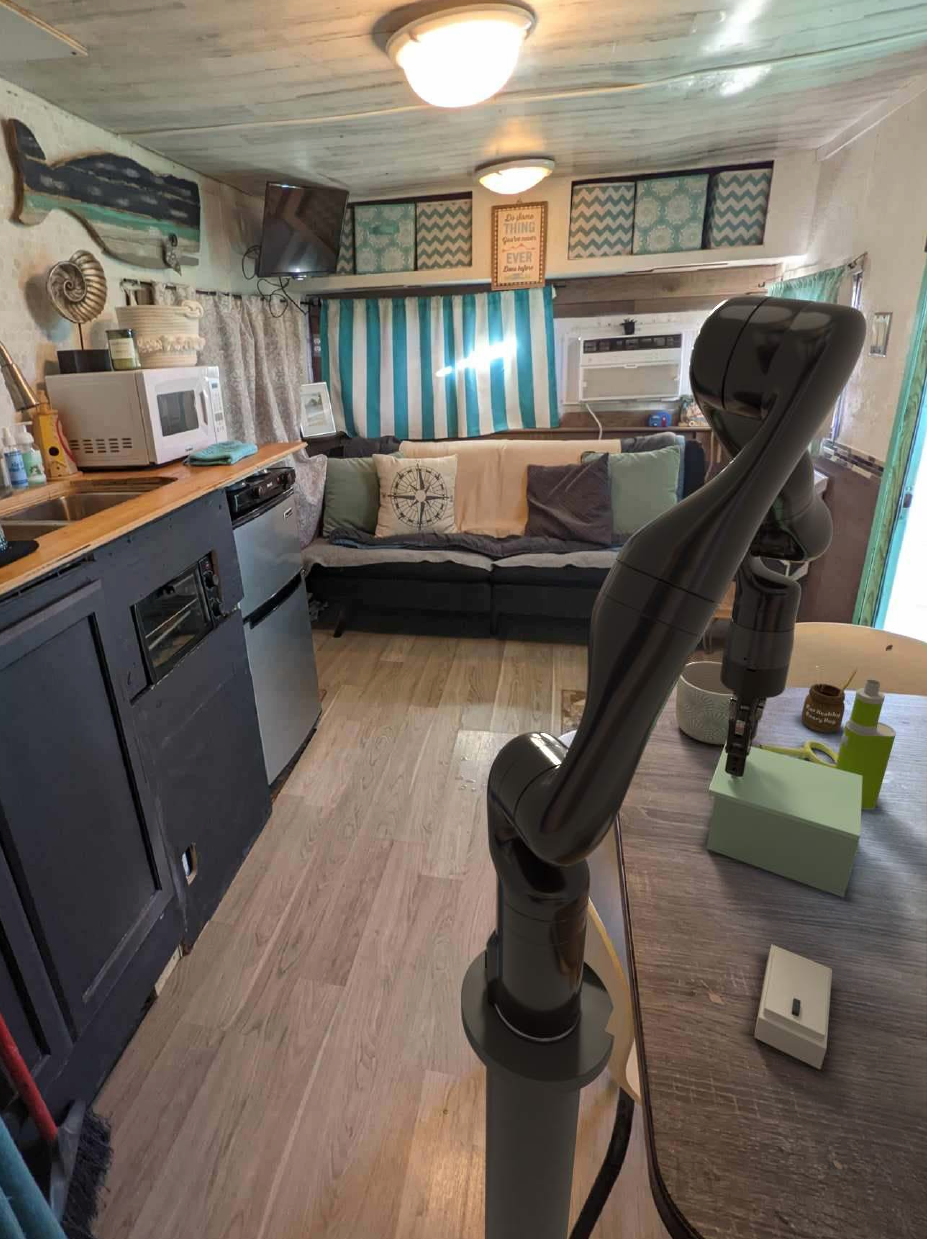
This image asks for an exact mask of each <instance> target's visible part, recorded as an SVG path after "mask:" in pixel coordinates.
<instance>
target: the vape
mask: <svg viewBox="0 0 927 1239" xmlns="http://www.w3.org/2000/svg"><path fill="white" fill-rule="evenodd" d="M880 688H881V682H880V681H879V680H875V679H867V680H866V681H865V684H864V687H859V688H857V689H856V690H855V691H856V692H855V697H854V701H853V706H852V709H851V713H850V716H849V719H848V720H847V721H845V725H844V730H843V732H842V736H841V742H840V746H839V749H838V753H837V754H838V758H837V762H836V763H835V764H836V766H835V769H839V770H843V771H846V772H850V773H854V774H858V775H862V776H863V777H862V805H861V810H874V809H876V807H877V803H878V799H879V796H880V792H881V789H882V786H883V781H884V779H885V774H886V772H887V768H888V764H889V760H890V756H891V753H892V748H893V746H894V743H895V739H896V735H897V732H896V731H895V729H894V728H893V727H892V726H890V725H889V724H887V723H884V722H880V721H879V720H880V716H881V712H882V708H883V705H884V702H885V698H886V695H885V694H884V693H883V692H882V691H880Z"/></svg>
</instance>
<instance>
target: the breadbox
mask: <svg viewBox="0 0 927 1239" xmlns="http://www.w3.org/2000/svg"><path fill="white" fill-rule="evenodd" d="M859 843H860V840H859V841H857V840H854V839H850V838H847V837H844V836H841V835H838V834H834V833H831V832H828V831H825V830H821V829H818V828H815V827H812V826H809V825H805V824H802V823H799V822H796V821H793V820H789V819H786V818H783V817H780V816H776V815H773V814H770V813H767V812H764V811H760V810H757V809H754V808H751V807H747V806H744V805H741V804H738V803H735V802H731V801H728V800H725V799H722V798H719V797H715V796H714V802H713V808H712V814H711V820H710V827H709V833H708V839H707V845H706V850H709V851H711V852H714V853H717V854H719V855H723V856H726V857H729V858H730V859H735V860H737V861H740V862H742V863H745V864H747V865H751V866H754V867H756V868H758V869H759V868H760V869H763V870H765V871H768V872H771V873H773V874H777V875H779V876H781V877H785V878H788V879H790V880H792V881H796V882H799V883H801V884H804V885H807V886H810V887H813V888H816V889H818V890H822V891H823V892H827V893H829V894H833V895H835V896H838V897H841V898H844V897H845V894H846V891H847V887H848V883H849V881H850V880H849V879H850V876H851V872H852V869H853V866H854V862H855V858H856V854H857V850H858V847H859Z"/></svg>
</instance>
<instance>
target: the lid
mask: <svg viewBox="0 0 927 1239" xmlns="http://www.w3.org/2000/svg"><path fill="white" fill-rule="evenodd" d="M726 743H727V741H726ZM726 743H725V744H724V747H723V749H722V752H721V755H720V757H719V760H718V762H717V765H716V768H715V771H714V773H713V777H712V779H711V783H710V784H709V787H708V791H707V795H709V796H711V797H712V796H713V797H714V798H715V797H719V798H722V799H725V800H728V801H731V802H735V803H738V804H741V805H744V806H747V807H751V808H754V809H757V810H760V811H764V812H767V813H770V814H773V815H776V816H780V817H783V818H786V819H789V820H793V821H796V822H799V823H802V824H805V825H809V826H812V827H815V828H818V829H821V830H825V831H828V832H831V833H834V834H838V835H841V836H844V837H847V838H850V839H854V840H857V841H859V842H860V839H861V832H862V809H861V805H862V777H863V776H862V775H858V774H854V773H850V772H846V771H843V770H839V769H835V768H831V767H827V766H824V765H820V764H816V763H812V762H811V761H810V760H805V759H800V758H797V757H794V756H790V755H783V754H778V753H774V752H771V751H767V750H763V749H759V747H755V746H752V745H751V750H750V754H749V755H748V756H747V758H746V764H745V769H744V774H743V776H742V777H738V776H734V775H731V774H728V773H726V772H725V766H726V760H727V755H728V753H725V751H726V750H725V746H726Z"/></svg>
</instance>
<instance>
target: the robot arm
mask: <svg viewBox="0 0 927 1239" xmlns="http://www.w3.org/2000/svg"><path fill="white" fill-rule="evenodd" d="M866 335H867V319H866V318H865V315H864V314H863V312H862V311H861V310H860V309H858V308H856V307H853V306H850V305H847V304H846V305H845V304H840V303H835V302H827V301H815V300H808V299H798V298H789V297H780V296H773V295H760V294H740V295H735V296H731V297H728V298H727V299H724V300H723V301H722V302H720V303H718V305H717V306H715V307H714V309H712V311H711V312H710V313H709V315H708V316H707V317H706V319H705V320H704V322H703V323H702V325H701V327H700V329H699V331H698V333H697V335H696V338H695V340H694V343H693V346H692V349H691V351H690V352H691V353H690V357H689V363H688V380H689V386H690V390H691V394H692V397H693V399H694V401H695V403H696V405H697V407H698V409H699V411H700V412H701V414H702V416H703V418H704V419H705V421H706V423H707V424H708V427H709V428H710V430H711V432H712V434H713V435H714V437H715V439H716V440H717V443H718V444H719V446H720V448H721V449H722V451H723V453H724V455H725V457H726V459H727V460H728V462H729V464H728V465H727V466H725V468H724V469H722V470H721V471H720V472H719V473H718V474H717V475H715V477H713V478H712V479H711V480H709V481H708V482H707V483H706V484H704V485H703V486H701V487H700V488H698V489H697V490H696V491H694V492H693V493H691V494H689V495H688V496H686V497H685V498H683V499H682V500H680V501H679V502H677V503H675V504H674V505H673V506H671V507H669V508H667V509H666V510H665V511H663V512H662V513H660V514H659V515H657V516H656V517H654V518H653V519H651V520H649V521H648V522H647V523H645V524H644V525H642V526H641V527H640V528H639V529H637V531H635V532H634V533H633V534H631V536H629V538H628V539H627V540H626V541H625V542H624V544H623V545H622V546H621V548H620V550H619V552H618V554H617V556H616V558H615V561H614V562H613V563H612V566H611V568H610V570H609V572H608V574H607V575H606V578H605V580H604V582H603V584H602V586H601V588H600V590H599V592H598V594H597V595H596V599H595V601H594V603H593V607H592V608H591V614H590V618H589V625H588V632H587V633H588V634H587V654H586V655H587V657H586V658H587V659H586V660H587V661H586V690H585V691H586V692H585V699H584V706H583V710H582V714H581V718H580V721H579V723H578V725H577V729H576V731H575V734H574V736H573V738H572V740H571V742H570V744H569V746H567V745H566V744H565V743H564V742H563V741H562V740H561V739H559V738H558V737H556V736H555V735H553V734H550V733H547V732H543V731H528V732H525V733H521V734H519V735H516V736H514V737H513V738H511V739H510V740H509V741H507V743H505V744H504V746H502V748H501V749H500V750H499V752H498V753H497V755H496V756H495V758H494V759H493V761H492V763H491V766H490V769H489V773H488V777H487V782H486V783H487V786H486V817H487V818H486V819H487V836H488V837H487V841H488V850H489V854H490V858H491V862H492V864H493V868H494V870H495V927H494V929H493V931H492V933H491V934H490V935H489V937H488V939H487V941H486V943H485V945H486V948H485V949H486V950H485V949H484V950H485V968H486V969H487V1003H488V1004H490V1005H491V1006H493V1007H494V1008H495V1009H496V1012H497V1014H498V1016H499V1018H500V1020H501V1021H502V1023H503V1024H504V1025H505V1026H506V1027H507V1029H509V1030H510V1031H511V1032H512V1033H513V1034H515V1035H516V1036H518V1037H519V1038H521V1039H523V1040H525V1041H528V1042H531V1043H535V1044H544V1045H545V1044H554V1043H558V1042H560V1041H562V1040H564V1039H566V1038H567V1037H569V1036H570V1035H571V1034H572V1033H573V1031H574V1030H575V1029H576V1027H577V1025H578V1022H579V1018H580V1009H581V1005H580V1003H581V992H582V983H583V982H582V974H583V962H584V961H585V951H586V950H585V949H586V939H587V938H586V937H587V928H588V913H589V903H590V902H589V900H590V888H591V872H590V867H589V864H588V861H587V858H588V857H589V856H590V855H591V854H593V852H595V851H596V849H597V848H598V847H599V846H600V845H601V843H602V842H603V841H604V840H605V838H606V836H607V835H608V833H609V832H610V830H611V829H612V827H613V825H614V823H615V821H616V819H617V816H618V814H619V813H620V811H621V808H622V806H623V803H624V801H625V799H626V795H627V794H628V791H629V789H630V786H631V783H632V781H633V779H634V776H635V774H636V772H637V769H638V767H639V764H640V762H641V759H642V756H643V754H644V752H645V749H646V747H647V745H648V743H649V741H650V737H651V735H652V734H653V732H654V729H655V727H656V725H657V722H658V721H659V719H660V717H661V715H662V712H663V711H664V708H665V707H666V705H667V703H668V701H669V698H670V697H671V695H672V693H673V691H674V689H675V687H676V686H677V683H678V679H679V677H680V676H681V674H682V672H683V670H684V668H685V666H686V664H689V663H688V662H689V661H690V659H691V658H692V656H693V654H694V652H695V651H696V649H697V648H698V646H699V645H700V643H701V641H702V639H703V637H704V635H705V634H706V632H707V630H708V628H709V627H710V625H711V623H712V621H713V619H714V617H715V615H716V614H717V613H718V610H719V608H720V605H721V604H722V602H723V600H724V598H725V596H726V595H727V592H728V591H729V588H730V587H731V584H732V582H733V580H734V579H735V587H734V588H735V589H734V596H733V597H734V598H733V604H732V610H731V616H730V621H729V624H728V627H727V631H726V634H725V641H724V648H723V653H722V659H721V663H722V666H721V672H720V680H721V682H722V684H723V685H724V686H725V687H726V688H728V689H729V690H732V691H733V697H732V698H731V700H730V704H729V711H730V715H729V720H728V725H727V732H728V736H727V743H726V746H725V745H724V746H725V750H726V751H725V753H728V755H727V760H726V766H725V772H726V773H728V774H731V775H734V776H738V777H742V776H743V774H744V769H745V764H746V758H747V756H748V755H749V754H750V750H751V746H752V744H753V740H755V738H757V733H758V729H759V724H760V722H761V720H762V718H763V716H764V711H765V709H766V705H767V702H768V699H771V698H776V697H778V696H780V695H782V694H783V693H784V691H785V689H786V684H787V679H788V675H789V670H790V665H791V661H792V655H793V650H794V645H795V630H796V622H797V617H798V611H799V606H800V602H801V597H802V588H801V585H800V583H799V582H798V581H797V580H795V579H793V578H792V577H789V576H787V575H785V574H782V573H779V572H776V571H774V570H771V569H769V568H768V567H767V566H765V564H764V562H763V561H762V560H761V559H769V560H775V561H776V560H777V561H783V562H791V563H799V564H800V563H801V564H802V563H809V562H812V561H815V560H817V559H818V558H820V557H821V556H822V555H824V554H825V553H826V552H827V550H828V549H829V547H830V545H831V542H832V539H833V535H834V525H833V519H832V518H833V517H832V515H831V511H830V510H829V508H828V506H827V504H826V502H825V501H824V499H822V497H821V496H820V494H819V493H818V491H817V490H816V488H815V465H814V460H813V458H812V455H811V453H810V450H809V449H808V448H809V446H810V444H811V443H812V442H813V440H814V438H815V437H816V435H817V433H818V432H819V430H820V429H821V427H822V425H823V424H824V422H825V421H826V420H827V418H828V416H829V414H830V413H831V411H832V409H833V407H834V406H835V404H836V403H837V401H838V399H839V398H840V396H841V395H842V393H843V391H844V389H845V388H846V386H847V384H848V382H849V380H850V379H851V376H852V374H853V372H854V370H855V369H856V368H855V367H856V366H857V364H858V361H859V359H860V357H861V354H862V351H863V348H864V345H865V342H866V337H867V336H866Z"/></svg>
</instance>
